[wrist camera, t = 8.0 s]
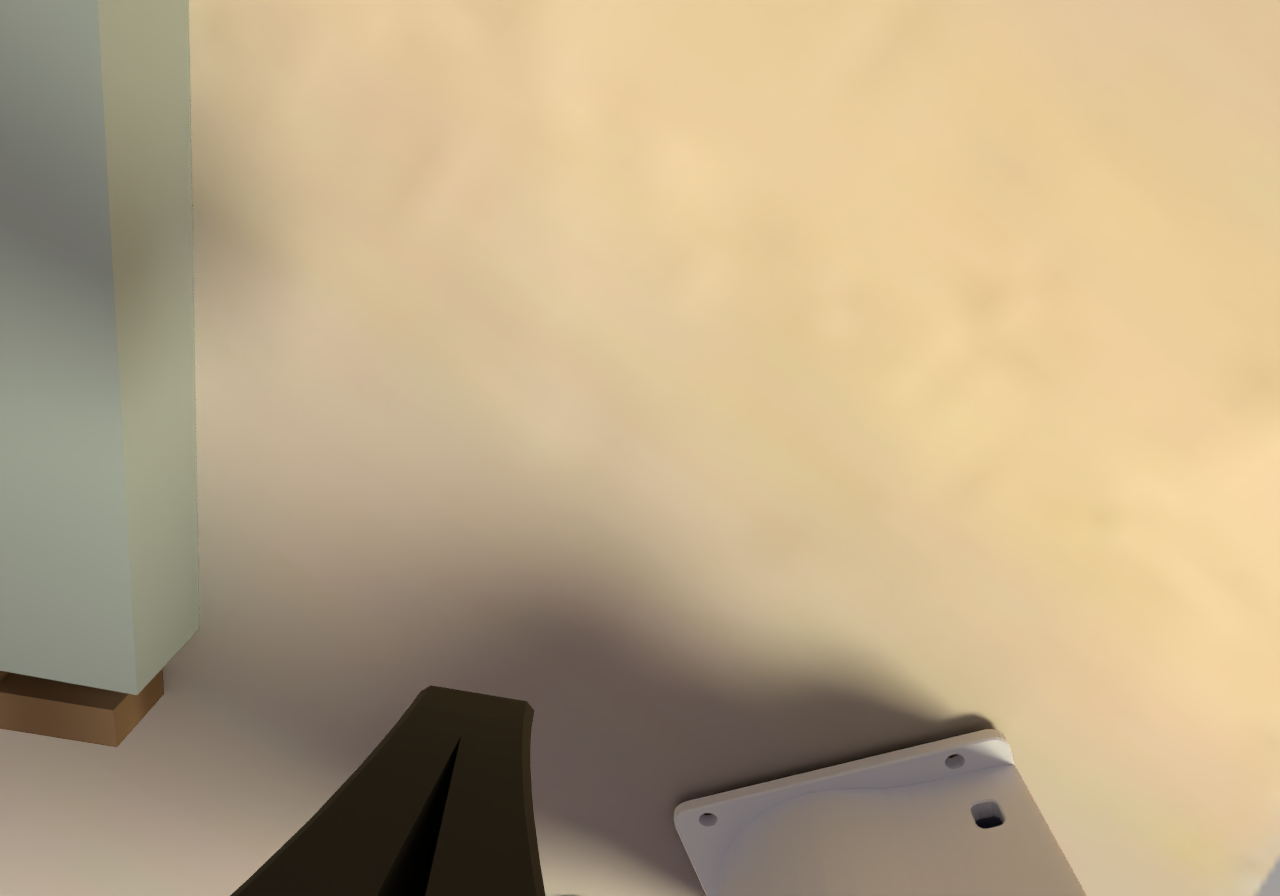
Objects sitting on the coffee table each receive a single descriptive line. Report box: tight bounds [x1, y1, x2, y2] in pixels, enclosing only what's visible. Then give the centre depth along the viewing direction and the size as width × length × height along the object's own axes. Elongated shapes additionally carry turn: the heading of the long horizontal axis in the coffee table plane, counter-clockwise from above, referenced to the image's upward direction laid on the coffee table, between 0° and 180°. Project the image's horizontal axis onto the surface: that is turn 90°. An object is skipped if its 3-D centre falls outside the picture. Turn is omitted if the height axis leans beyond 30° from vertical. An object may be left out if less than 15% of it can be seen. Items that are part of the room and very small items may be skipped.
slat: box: [0, 0, 199, 695], centre depth 17 cm, size 4×16×3 cm, turn 168°
